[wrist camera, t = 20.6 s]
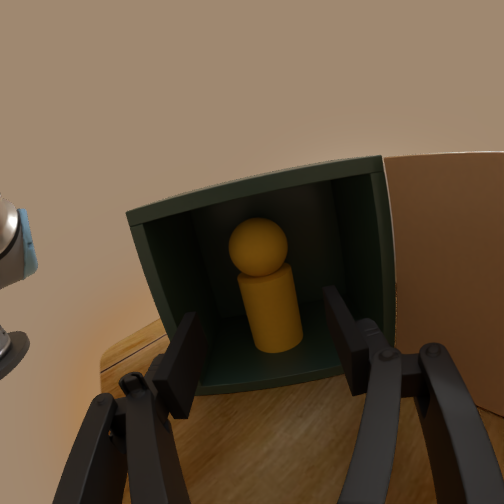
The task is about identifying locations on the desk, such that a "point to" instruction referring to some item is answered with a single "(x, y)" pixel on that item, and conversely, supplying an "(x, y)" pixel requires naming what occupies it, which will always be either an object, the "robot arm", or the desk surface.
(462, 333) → the cabinet door
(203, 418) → the desk surface
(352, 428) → the desk surface
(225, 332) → the cabinet
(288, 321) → the toy
